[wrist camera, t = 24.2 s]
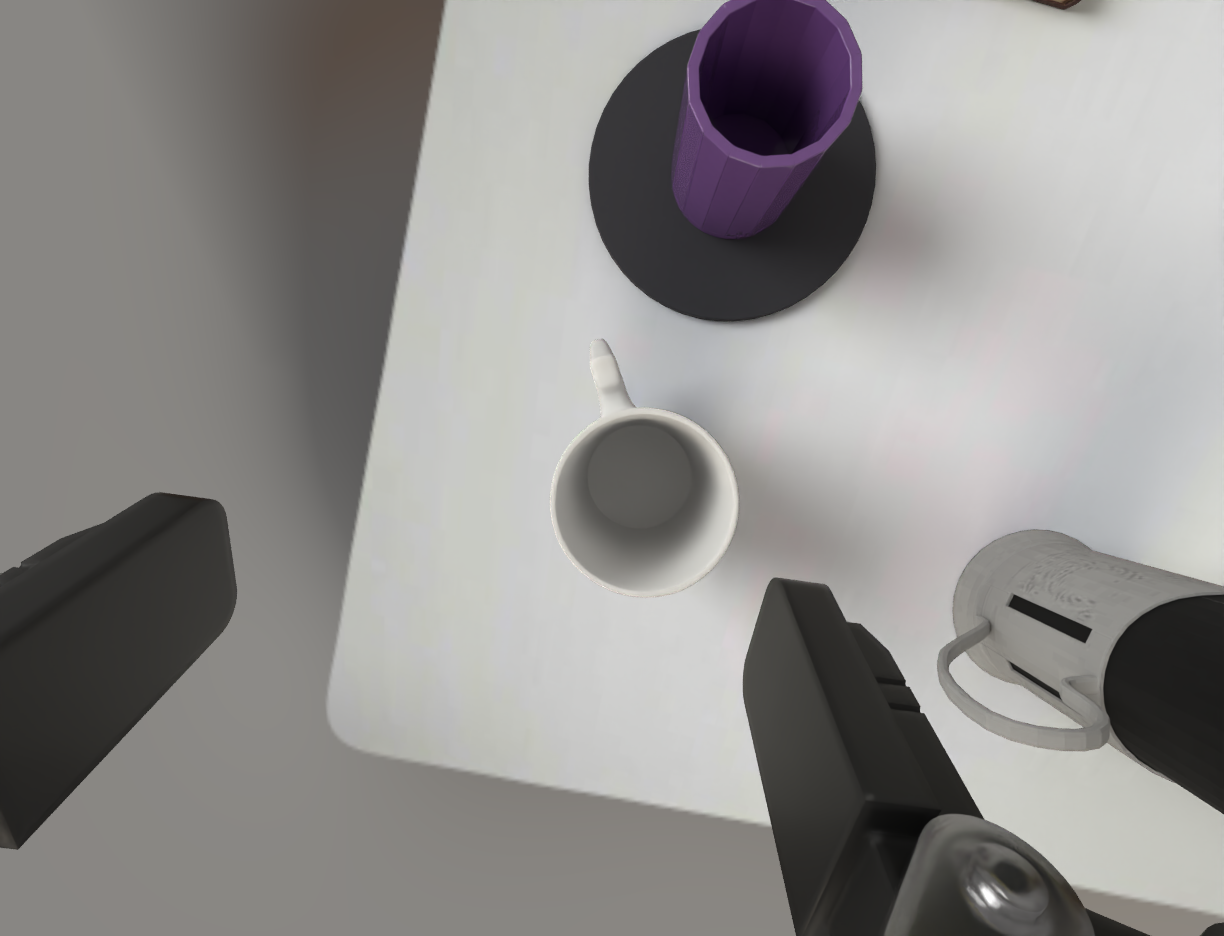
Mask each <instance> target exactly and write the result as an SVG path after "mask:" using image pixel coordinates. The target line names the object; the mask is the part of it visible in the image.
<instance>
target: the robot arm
mask: <svg viewBox="0 0 1224 936" xmlns="http://www.w3.org/2000/svg"><path fill="white" fill-rule="evenodd" d="M236 599H237V586H236V580H235V572H234V565H233V558H232V551H231V544H230V537H229V530H228V523H227V517H226V513H225V510H224V508H223V506H222V505H221V504H220V503H219V502H218V501H216V500H212V499H205V498H198V497H191V496H184V495H176V494H169V493H161V492H160V493H154V494H151V495H149V496H147V497H145V498H143V499H142V500H140V501H138V502H137V503H135V504H134V505H132V506H130V507H129V508H127V509H126V510H124V511H122V512H121V513H119V514H117V515H116V516H114V517H113V518H111V519H109V520H108V521H106V522H105V523H102V524H100V525H97V526H94V527H91V528H88V529H86V530H83V531H80V532H77V533H75V534H72V535H69V536H66V537H64V538H61V539H59V540H57V541H56V542H54V543H52V544H51V545H49V546H47V547H46V548H44V549H42V550H41V551H39V552H37V553H36V554H34V555H32V556H31V557H29V558H27V559H26V560H24V561H22V562H21V566H20V567H19V568H16V567H13V568H11V569H9V570H7V571H6V572H4V573H2V574H1V575H0V847H1V848H9V849H17V850H18V849H19V848H20V847H21V846H22V845H23V844H24V843H25V841H27V839H28V838H29V837H30V836H31V835H32V834H33V833H34V832H35V831H36V830H37V829H38V828H39V827H40V825H42V824H43V822H44V821H45V820H46V819H47V818H48V817H49V816H50V815H51V814H52V813H53V812H54V811H55V810H56V809H57V808H58V806H59V805H60V804H61V803H62V802H63V801H64V800H65V799H66V798H67V797H68V796H69V795H70V794H71V793H72V792H73V791H74V789H75V788H76V787H77V786H78V785H79V784H80V783H81V782H82V781H83V780H84V779H85V778H86V777H87V776H88V774H89V773H90V772H91V771H92V770H93V769H94V768H95V767H96V766H97V765H98V764H99V762H101V761H102V760H103V758H104V757H106V755H107V754H108V753H109V752H110V751H111V750H112V749H113V748H114V747H115V746H116V745H117V744H118V743H119V742H120V741H121V739H122V738H123V737H124V736H125V735H126V734H127V733H128V732H129V731H130V730H131V729H132V727H134V726H135V725H136V724H137V722H138V721H139V720H140V719H141V718H142V717H143V716H144V715H145V714H146V713H147V711H149V710H150V709H151V708H152V707H153V705H154V704H155V703H156V702H157V701H158V700H159V699H160V698H161V697H162V696H163V695H164V694H165V693H166V692H167V691H168V690H169V688H170V687H171V686H172V685H173V684H174V683H175V682H176V681H177V680H178V679H179V678H180V677H181V676H182V675H183V674H184V672H185V671H186V670H187V669H188V668H189V667H190V666H191V665H192V664H193V663H194V662H195V661H196V660H197V659H198V658H199V657H200V655H201V654H202V653H203V652H204V651H205V650H206V649H207V648H208V647H209V646H210V645H211V644H212V643H213V642H214V640H216V638H217V637H218V636H219V635H220V634H221V633H222V632H223V630H224V629H225V628H226V626H227V625H228V623H229V621H230V619H231V617H232V614H233V611H234V608H235V604H236ZM905 682H906V680H905V679H904V677H903V675H902V673H901V672H900V670H899V668H898V666H897V664H896V663H895V661H894V659H893V657H892V656H891V654H890V652H889V651H888V650H887V649H886V648H885V647H884V646H883V645H882V644H881V643H880V642H879V641H878V640H877V639H876V638H875V637H874V636H873V635H872V634H871V633H869V632H868V631H867V630H866V629H865V628H864V627H863V626H862V625H861V624H858V623H850V622H846V620H845V618H844V616H843V614H842V612H841V610H840V608H839V606H838V604H837V602H836V600H835V598H834V596H833V594H832V592H831V590H830V588H829V587H828V586H827V585H825V584H819V583H812V582H805V581H797V580H790V579H783V578H773V579H772V580H771V581H770V583H769V584H768V587H767V589H766V592H765V595H764V599H763V602H762V605H761V609H760V612H759V615H758V619H757V622H756V625H755V629H754V632H753V635H752V639H751V642H750V645H749V649H748V652H747V655H746V659H745V664H744V671H743V697H744V704H745V708H746V713H747V717H748V722H749V726H750V731H751V735H752V740H753V744H754V749H755V753H756V758H757V762H758V767H759V771H760V775H761V780H762V784H763V789H764V793H765V798H766V802H767V807H768V811H769V816H770V820H771V825H772V829H773V834H774V838H775V843H776V847H777V852H778V856H779V861H780V865H781V870H782V874H783V879H784V883H785V888H786V892H787V897H788V901H789V906H790V910H791V915H792V919H793V924H794V928H795V932H796V936H1150V935H1147V934H1145V933H1143V932H1140V931H1138V930H1135V929H1133V928H1131V927H1128V926H1126V925H1124V924H1121V923H1119V922H1116V921H1114V920H1111V919H1109V918H1107V917H1104V916H1102V915H1100V914H1097V913H1095V912H1093V911H1090V910H1088V909H1086V908H1085V907H1084V906H1083V904H1082V903H1081V901H1080V900H1079V898H1078V896H1077V894H1076V893H1075V891H1074V890H1073V889H1072V887H1071V886H1070V885H1069V883H1068V882H1067V881H1066V879H1065V878H1064V877H1063V876H1062V875H1061V874H1060V873H1059V872H1058V870H1057V869H1056V868H1055V867H1054V866H1053V865H1052V864H1051V863H1050V862H1049V861H1048V860H1047V859H1046V858H1044V857H1043V856H1042V855H1041V854H1040V853H1039V852H1038V851H1036V850H1035V849H1034V848H1033V847H1031V846H1030V845H1029V844H1028V843H1026V842H1025V841H1023V840H1022V839H1020V838H1019V837H1017V836H1016V835H1014V834H1013V833H1011V832H1009V831H1007V830H1006V829H1004V828H1002V827H1000V826H998V825H996V824H994V823H991V822H989V821H987V820H984V818H983V816H982V815H981V813H980V811H979V809H978V807H977V806H976V804H975V802H974V800H973V799H972V797H971V795H970V793H969V792H968V790H967V788H966V786H965V785H964V783H963V781H962V779H961V777H960V776H959V774H958V772H957V770H956V769H955V767H954V765H953V763H952V762H951V760H950V758H949V756H948V755H947V753H946V751H945V749H944V747H943V746H942V744H941V742H940V740H939V739H938V737H937V735H936V733H935V732H934V730H933V728H932V726H931V724H930V723H929V721H928V719H927V717H926V716H925V714H924V713H920V705H919V703H918V702H917V700H916V698H915V696H914V694H913V693H912V691H911V689H910V687H906V685H905ZM1200 936H1224V923H1218V924H1214V925H1212V926H1210V927H1208V928H1207V929H1206V930H1205V931H1204V932H1203V933H1202V934H1201V935H1200Z"/></svg>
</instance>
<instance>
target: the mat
mask: <svg viewBox="0 0 1224 936" xmlns="http://www.w3.org/2000/svg"><path fill="white" fill-rule="evenodd" d="M700 30H701V29H700ZM700 30H697V31H693V32H690V33H687V34H685V35H682V36H680V37H678V38H676V39H673V40H671V41H669V42H668V43H666V44H664V45H663V46H661V47H659V48H658V49H656V50H654V51H653V52H652V53H650V54H649V55H648V56H647V57H645V58H644V59H643V60H642V61H640V62H639V63H638V64H637V65H636V66H635V67H634V68H633V69H632V70H631V71H630V72H629V73H628V74H627V76H626V77H625V78H624V79H623V80H622V82H621V83H620V84H619V86H618V87H617V88H616V90H615V91H614V93H613V94H612V96H611V98H610V100H609V101H608V103H607V105H606V107H605V108H604V110H603V113H602V115H601V118H600V120H599V123H598V125H597V128H596V131H595V135H594V139H593V143H592V147H591V154H590V161H589V190H590V199H591V206H592V210H593V214H594V218H595V222H596V225H597V228H598V230H599V233H600V236H601V238H602V241H603V243H604V245H605V246H606V248H607V250H608V252H609V254H610V255H611V257H612V259H613V260H614V261H615V263H616V264H617V265H618V267H619V268H620V270H621V271H622V272H623V273H624V274H625V275H626V276H627V278H628V279H629V280H630V281H631V282H632V283H633V284H634V285H635V286H636V287H638V288H639V289H640V290H641V291H643V292H644V293H645V294H646V295H648V296H649V297H650V298H652V299H654V300H655V301H657V302H659V303H660V304H662V305H664V306H666V307H668V308H670V309H672V310H675V311H677V312H679V313H682V314H685V315H689V316H692V317H696V318H700V319H707V320H714V321H740V320H748V319H755V318H759V317H763V316H766V315H770V314H773V313H776V312H778V311H781V310H783V309H785V308H788V307H790V306H792V305H793V304H795V303H797V302H799V301H801V300H802V299H804V298H806V297H807V296H808V295H810V294H811V293H812V292H814V291H815V290H816V289H818V288H819V287H820V286H822V285H823V284H824V283H825V282H826V281H827V280H828V279H829V278H830V277H831V276H832V275H833V274H834V273H835V272H836V271H837V270H838V269H839V267H840V266H841V265H842V264H843V262H844V261H845V260H846V259H847V257H848V256H849V254H850V253H851V251H852V249H853V248H854V246H855V245H856V243H857V241H858V239H859V237H860V235H861V233H862V231H863V228H864V226H865V224H866V221H867V218H868V215H869V211H870V208H871V205H872V200H873V194H874V188H875V175H876V161H875V149H874V142H873V138H872V133H871V129H870V125H869V122H868V120H867V117H866V114H865V111H864V109H863V107H862V105H861V103H860V101H858V103H857V106H856V109H855V111H854V114H853V117H852V119H851V122H850V124H849V125H848V127H847V128H846V130H845V131H844V132H843V134H842V135H841V136H840V138H839V139H838V140H837V142H836V143H835V144H834V146H833V147H832V149H831V150H830V151H829V153H828V154H827V155H826V157H825V158H824V159H823V161H822V162H821V164H820V165H819V166H818V168H817V169H816V170H815V172H814V173H813V174H812V176H811V177H810V178H809V180H808V181H807V183H806V184H805V185H804V187H803V188H802V189H801V191H800V192H799V193H798V195H797V196H796V198H795V199H794V200H793V202H792V203H791V204H790V206H789V207H788V208H787V209H786V210H785V211H784V212H783V214H782V215H781V216H780V217H779V218H778V219H777V220H776V221H775V222H774V223H773V224H772V225H771V226H770V227H768V228H767V229H765V230H763V231H762V232H760V233H758V234H755V235H753V236H750V237H746V238H741V239H723V238H718V237H714V236H711V235H709V234H707V233H704V232H703V231H701V230H699V229H698V228H696V227H695V226H694V225H693V224H691V223H690V221H689V220H688V219H687V218H686V217H685V216H684V214H683V213H682V212H681V210H680V208H679V206H678V205H677V202H676V200H675V197H674V194H673V190H672V182H671V170H672V164H671V163H672V157H673V151H674V144H675V138H676V132H677V126H678V120H679V114H680V108H681V101H682V95H683V89H684V83H685V77H686V71H687V65H688V62H689V59H690V56H691V53H692V50H693V47H694V44H695V42H696V39H697V36H698V33H699V32H700Z"/></svg>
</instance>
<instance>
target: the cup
mask: <svg viewBox="0 0 1224 936" xmlns="http://www.w3.org/2000/svg"><path fill="white" fill-rule="evenodd" d="M861 92H862V54H861V51H860V48H859V46H858V44H857V41H856V39H855V37H854V34H853V32H852V30H851V28H850V25H849V23H848V21H847V20H846V19H845V18H844V17H843V16H842V15H841V14H840V13H839V12H838V11H837V10H836V9H835V8H833V7H832V6H831V5H830V4H829V3H828V2H827V1H826V0H730V1H728V2H726V3H724V4H723V5H722V6H721V7H720V8H719V9H718V10H717V11H716V13H715V14H714V15H713V16H712V17H711V18H710V20H709V21H708V22H707V23H706V24H705V25H704V27H703V28H702V29H701V30H700V32H699V33H698V36H697V39H696V42H695V44H694V47H693V50H692V53H691V56H690V59H689V62H688V65H687V71H686V77H685V83H684V89H683V95H682V101H681V108H680V114H679V120H678V126H677V132H676V138H675V144H674V151H673V157H672V163H671V164H672V170H671V182H672V190H673V194H674V197H675V200H676V202H677V205H678V206H679V208H680V210H681V212H682V213H683V214H684V216H685V217H686V218H687V219H688V220H689V221H690V223H691V224H693V225H694V226H695V227H696V228H698V229H699V230H701V231H703V232H704V233H707V234H709V235H711V236H714V237H718V238H723V239H741V238H746V237H750V236H753V235H755V234H758V233H760V232H762V231H763V230H765V229H767V228H768V227H770V226H771V225H772V224H773V223H774V222H775V221H776V220H777V219H778V218H779V217H780V216H781V215H782V214H783V212H784V211H785V210H786V209H787V208H788V207H789V206H790V204H791V203H792V202H793V200H794V199H795V198H796V196H797V195H798V193H799V192H800V191H801V189H802V188H803V187H804V185H805V184H806V183H807V181H808V180H809V178H810V177H811V176H812V174H813V173H814V172H815V170H816V169H817V168H818V166H819V165H820V164H821V162H822V161H823V159H824V158H825V157H826V155H827V154H828V153H829V151H830V150H831V149H832V147H833V146H834V144H835V143H836V142H837V140H838V139H839V138H840V136H841V135H842V134H843V132H844V131H845V130H846V128H847V127H848V125H849V124H850V122H851V119H852V117H853V114H854V111H855V109H856V106H857V103H858V101H859V98H860V95H861Z"/></svg>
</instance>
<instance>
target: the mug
mask: <svg viewBox="0 0 1224 936" xmlns="http://www.w3.org/2000/svg"><path fill="white" fill-rule="evenodd" d="M590 369H591V373H592V376H593V379H594V382H595V385H596V389H597V393H598V397H599V402H600V411H601V412H600V418H599V419H598V420H596V421H595V422H593V423H592V424H590V425H589V426H587V427H586V428H585V429H584V430H583V431H581V432H580V433H579V434H578V435H577V436H576V437H575V438H574V440H573V441H572V442H571V443H570V444H569V446H568V447H567V449H566V450H565V452H564V453H563V455H562V457H561V459H560V461H559V463H558V465H557V467H556V470H555V473H554V476H553V480H552V485H551V492H550V512H551V519H552V524H553V528H554V531H555V534H556V537H557V539H558V541H559V543H560V545H561V547H562V549H563V551H564V552H565V554H566V556H567V557H568V558H569V560H570V561H571V562H572V563H573V565H574V566H575V567H576V568H577V569H578V570H579V571H580V572H581V573H582V574H584V575H585V576H586V577H587V578H589V579H590V580H591V581H593V582H594V583H596V584H598V585H600V586H601V587H603V588H605V589H608V590H610V591H613V592H616V593H619V594H622V595H627V596H633V597H660V596H665V595H670V594H673V593H676V592H679V591H681V590H684V589H686V588H688V587H689V586H691V585H693V584H695V583H696V582H698V581H699V580H700V579H702V578H703V577H704V576H706V575H707V574H708V573H709V572H710V571H711V570H712V569H713V568H714V567H715V566H716V565H717V563H718V562H719V561H720V560H721V558H722V557H723V555H724V554H725V552H726V550H727V549H728V547H729V545H730V543H731V541H732V538H733V536H734V533H735V529H736V526H737V521H738V515H739V490H738V485H737V480H736V476H735V473H734V470H733V468H732V465H731V463H730V461H729V459H728V457H727V455H726V454H725V452H724V450H723V449H722V448H721V446H720V445H719V444H718V442H717V441H716V440H715V439H714V438H713V437H712V436H711V435H710V434H709V433H708V432H707V431H706V430H705V429H703V428H702V427H701V426H699V425H698V424H697V423H695V422H693V421H692V420H690V419H688V418H686V417H684V416H682V415H679V414H677V413H674V412H671V411H667V410H663V409H657V408H637V407H635V405H634V404H633V403H632V401H631V400H630V398H629V396H628V393H627V391H626V388H625V385H624V382H623V379H622V376H621V373H620V371H619V367H618V364H617V361H616V358H615V357H614V355H613V353H612V351H611V349H610V347H609V345H608V344H607V342H606V341H605V340H604V339H597V340H594V341H593V342H592V343H591V345H590Z"/></svg>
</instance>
